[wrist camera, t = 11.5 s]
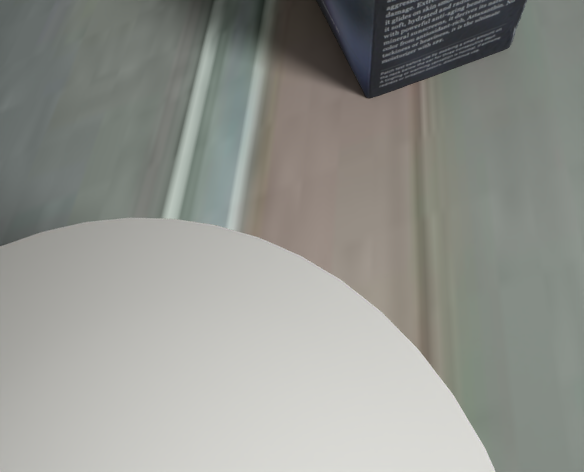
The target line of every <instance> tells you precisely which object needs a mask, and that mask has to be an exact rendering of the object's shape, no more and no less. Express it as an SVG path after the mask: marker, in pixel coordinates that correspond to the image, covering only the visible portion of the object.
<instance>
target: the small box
mask: <svg viewBox="0 0 584 472" xmlns="http://www.w3.org/2000/svg"><path fill="white" fill-rule="evenodd" d="M317 2H318V4H319V6H320V8H321V10H322V12H323V14H324V16H325V18H326V20H327V22H328V24H329V26H330V27H331V30H332V32H333V34H334V35H335V37H336V39H337V41H338V43H339V45H340V47H341V49H342V51H343V53H344V55H345V57H346V59H347V61H348V63H349V65H350V67H351V68H352V70H353V72H354V74H355V76H356V78H357V80H358V82H359V84H360V86H361V88H362V89H363V92H364V94H365V96H366V97H367V98H373V97H376V96H379V95H382V94H385V93H388V92H390V91H394V90H396V89H399V88H402V87H405V86H407V85H410V84H413V83H415V82H418V81H421V80H424V79H427V78H429V77H432V76H435V75H438V74H440V73H443V72H446V71H448V70H451V69H454V68H457V67H459V66H462V65H464V64H467V63H470V62H472V61H475V60H478V59H481V58H484V57H486V56H489V55H492V54H494V53H497V52H500V51H503V50H505V49H507V48H509V47H510V45H511V43H512V41H513V38H514V35H515V31H516V28H517V26H518V23H519V21H520V19H521V15H522V12H523V10H524V8H525V4H526V2H527V0H317Z"/></svg>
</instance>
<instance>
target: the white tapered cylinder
mask: <svg viewBox="0 0 584 472" xmlns="http://www.w3.org/2000/svg"><path fill="white" fill-rule="evenodd" d="M0 472H495V469H494V467H493V465H492V463H491V461H490V458H489V456H488V454H487V452H486V449H485V447H484V446H483V444H482V442H481V441H480V439H479V437H478V436H477V434H476V432H475V431H474V429H473V427H472V426H471V424H470V422H469V421H468V419H467V417H466V415H465V414H464V412H463V410H462V409H461V407H460V405H459V404H458V402H457V400H456V399H455V397H454V395H453V394H452V393H451V391H450V390H449V389H448V387H447V386H446V385H445V384H444V382H443V381H442V380H441V378H440V377H439V376H438V374H437V373H436V372H435V371H434V369H433V368H432V367H431V365H430V364H429V363H428V361H427V360H426V359H425V358H424V356H423V355H422V354H421V352H420V351H419V350H418V349H417V348H416V347H415V346H414V345H413V344H412V343H411V342H410V341H409V339H408V338H407V337H406V336H405V335H404V334H403V333H402V332H401V331H400V330H399V329H398V328H397V327H396V326H395V325H394V324H393V323H392V322H391V321H390V320H389V319H388V318H387V317H386V316H385V315H384V314H383V313H382V312H381V311H380V310H378V309H377V308H376V307H375V306H373V305H372V304H371V303H370V302H368V301H367V300H366V299H365V298H363V297H362V296H361V295H359V294H358V293H357V292H356V291H354V290H353V289H352V288H351V287H349V286H348V285H347V284H345V283H344V282H343V281H342V280H340V279H338V278H337V277H335V276H333V275H332V274H330V273H328V272H327V271H325V270H323V269H322V268H320V267H318V266H317V265H315V264H313V263H312V262H310V261H308V260H307V259H305V258H303V257H302V256H300V255H298V254H295V253H293V252H291V251H288V250H286V249H284V248H282V247H279V246H277V245H275V244H272V243H270V242H268V241H265V240H263V239H261V238H258V237H255V236H252V235H248V234H245V233H241V232H238V231H234V230H231V229H227V228H224V227H220V226H217V225H211V224H204V223H197V222H191V221H184V220H178V219H162V218H122V219H112V220H102V221H92V222H84V223H80V224H75V225H71V226H66V227H62V228H57V229H53V230H48V231H44V232H41V233H38V234H35V235H32V236H29V237H26V238H23V239H20V240H17V241H14V242H12V243H9V244H6V245H3V246H0Z"/></svg>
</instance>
